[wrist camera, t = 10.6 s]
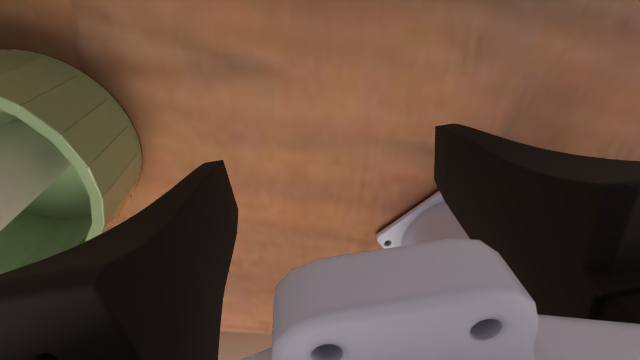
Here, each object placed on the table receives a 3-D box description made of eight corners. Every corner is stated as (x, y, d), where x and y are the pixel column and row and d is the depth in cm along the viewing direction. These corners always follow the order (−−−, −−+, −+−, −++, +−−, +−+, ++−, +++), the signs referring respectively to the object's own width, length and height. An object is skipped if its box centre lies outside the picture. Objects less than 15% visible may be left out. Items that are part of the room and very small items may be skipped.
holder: (179, 149, 22) (150, 198, 18) (78, 245, 25) (30, 310, 21) (-3, 0, 18) (-109, 13, 13) (-101, 140, 21) (-215, 191, 16)
